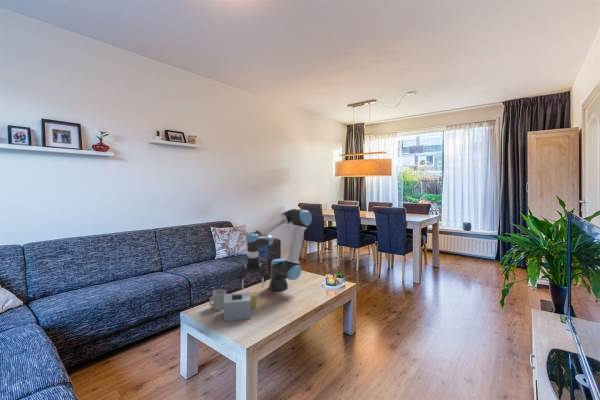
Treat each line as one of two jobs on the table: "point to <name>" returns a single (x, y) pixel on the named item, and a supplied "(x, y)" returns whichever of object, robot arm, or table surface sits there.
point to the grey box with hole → (237, 306)
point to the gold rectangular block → (253, 300)
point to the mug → (218, 299)
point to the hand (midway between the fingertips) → (252, 287)
